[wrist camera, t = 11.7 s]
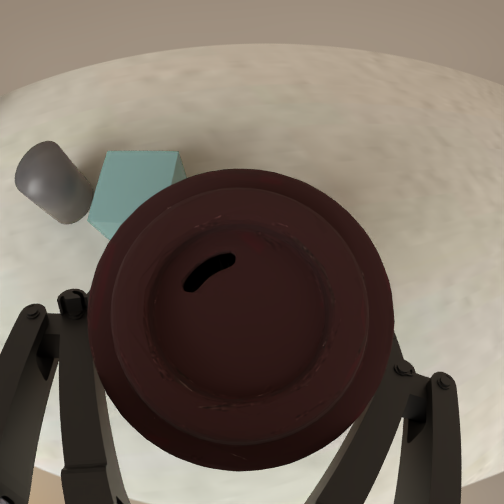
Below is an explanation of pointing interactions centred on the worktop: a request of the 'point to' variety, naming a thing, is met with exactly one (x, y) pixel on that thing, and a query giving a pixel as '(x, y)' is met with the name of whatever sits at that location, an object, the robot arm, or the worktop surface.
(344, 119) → the worktop surface
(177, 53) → the worktop surface
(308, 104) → the worktop surface
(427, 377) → the robot arm
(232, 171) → the coffee cup
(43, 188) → the gray cylinder
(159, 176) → the teal block
